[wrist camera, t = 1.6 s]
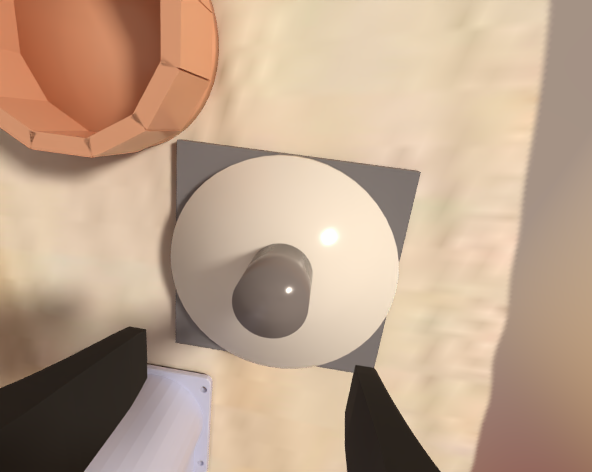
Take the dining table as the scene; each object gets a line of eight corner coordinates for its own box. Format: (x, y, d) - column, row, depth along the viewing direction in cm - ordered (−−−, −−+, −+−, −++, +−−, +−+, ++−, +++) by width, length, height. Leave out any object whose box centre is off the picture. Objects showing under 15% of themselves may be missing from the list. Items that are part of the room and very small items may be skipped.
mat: (371, 369, 22) (372, 375, 21) (179, 337, 23) (175, 342, 22) (417, 170, 18) (420, 172, 17) (181, 139, 18) (176, 139, 18)
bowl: (214, 160, 19) (179, 169, 14) (32, 135, 19) (-53, 137, 15) (224, -79, 15) (182, -160, 11) (3, -99, 16) (-118, -183, 12)
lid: (371, 375, 21) (381, 435, 17) (175, 342, 22) (139, 391, 18) (420, 172, 17) (449, 186, 13) (177, 139, 18) (130, 143, 14)
